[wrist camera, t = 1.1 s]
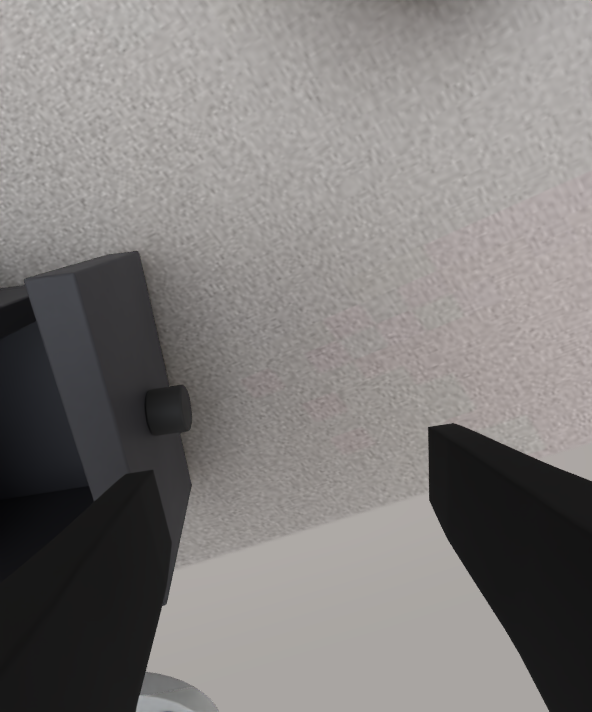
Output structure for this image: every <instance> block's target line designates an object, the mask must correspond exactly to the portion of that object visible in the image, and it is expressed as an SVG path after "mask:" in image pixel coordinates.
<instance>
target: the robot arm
mask: <svg viewBox="0 0 592 712" xmlns="http://www.w3.org/2000/svg"><path fill="white" fill-rule="evenodd" d="M428 443H429V500H430V503H431V505H432V507H433V509H434V511H435V514H436V516H437V518H438V520H439V522H440V524H441V527H442V529H443V531H444V533H445V535H446V537H447V539H448V541H449V542H450V544H451V545H452V547H453V549H454V550H455V552H456V553H457V555H458V557H459V558H460V560H461V561H462V563H463V565H464V566H465V568H466V569H467V571H468V572H469V574H470V575H471V577H472V579H473V580H474V582H475V583H476V585H477V587H478V588H479V590H480V591H481V593H482V594H483V596H484V597H485V599H486V600H487V602H488V604H489V605H490V607H491V608H492V610H493V612H494V613H495V615H496V616H497V618H498V619H499V621H500V622H501V624H502V625H503V627H504V628H505V630H506V632H507V634H508V635H509V637H510V639H511V640H512V642H513V644H514V645H515V647H516V649H517V651H518V652H519V654H520V656H521V658H522V660H523V662H524V664H525V665H526V667H527V669H528V671H529V673H530V675H531V677H532V679H533V681H534V683H535V684H536V687H537V689H538V690H539V692H540V694H541V696H542V698H543V700H544V702H545V704H546V706H547V708H548V710H549V712H592V481H589V480H587V479H584V478H582V477H579V476H577V475H574V474H572V473H569V472H566V471H564V470H561V469H559V468H556V467H554V466H552V465H549V464H547V463H544V462H542V461H540V460H537V459H535V458H533V457H530V456H528V455H526V454H524V453H521V452H519V451H517V450H515V449H512V448H510V447H508V446H506V445H504V444H501V443H499V442H497V441H495V440H493V439H490V438H488V437H486V436H484V435H482V434H479V433H477V432H475V431H472V430H470V429H468V428H465V427H463V426H460V425H457V424H454V423H452V424H445V425H439V426H432V427H428ZM171 548H172V541H171V537H170V533H169V529H168V525H167V521H166V517H165V513H164V509H163V506H162V502H161V498H160V494H159V490H158V486H157V482H156V478H155V474H154V471H153V470H147V471H141V472H134V473H128V474H125V475H124V476H123V477H121V478H120V479H119V480H118V481H116V482H115V483H114V484H113V485H112V486H111V487H110V488H109V489H107V490H106V491H105V492H104V493H103V494H102V495H101V496H100V497H99V498H98V499H97V500H96V501H94V502H93V503H92V504H91V505H90V506H89V507H88V508H87V509H86V510H85V511H84V512H82V513H81V514H80V515H79V516H78V517H77V518H76V519H75V520H74V521H73V522H72V523H70V524H69V525H68V526H67V527H66V528H65V529H64V530H63V531H62V532H61V533H59V534H58V535H57V536H56V537H55V538H54V539H52V540H51V541H50V542H49V543H48V544H47V545H45V546H44V547H43V548H42V549H41V550H39V551H38V552H37V553H36V554H35V555H34V556H32V557H31V558H30V559H29V560H28V561H26V562H25V563H24V564H23V565H22V566H21V567H19V568H18V569H17V570H16V571H15V572H13V573H12V574H11V575H10V576H8V577H7V578H6V579H5V580H3V581H2V582H1V583H0V712H136V708H137V704H138V699H139V695H140V691H141V687H142V683H143V680H144V676H145V672H146V667H147V664H148V660H149V656H150V652H151V648H152V644H153V640H154V636H155V632H156V628H157V624H158V620H159V616H160V612H161V608H162V604H163V600H164V596H165V592H166V588H167V581H168V573H169V566H170V557H171ZM166 712H172V711H166Z"/></svg>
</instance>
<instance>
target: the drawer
mask: <svg viewBox="0 0 592 712" xmlns="http://www.w3.org/2000/svg"><path fill="white" fill-rule="evenodd" d="M24 283H25V285H24V286H16V287H8V288H0V583H1V582H2V581H3V580H5V579H6V578H7V577H8V576H10V575H11V574H12V573H13V572H15V571H16V570H17V569H18V568H19V567H21V566H22V565H23V564H24V563H25V562H26V561H28V560H29V559H30V558H31V557H32V556H34V555H35V554H36V553H37V552H38V551H39V550H41V549H42V548H43V547H44V546H45V545H47V544H48V543H49V542H50V541H51V540H52V539H54V538H55V537H56V536H57V535H58V534H59V533H61V532H62V531H63V530H64V529H65V528H66V527H67V526H68V525H69V524H70V523H72V522H73V521H74V520H75V519H76V518H77V517H78V516H79V515H80V514H81V513H82V512H84V511H85V510H86V509H87V508H88V507H89V506H90V505H91V504H92V503H93V502H94V501H96V500H97V499H98V498H99V497H100V496H101V495H102V494H103V493H104V492H105V491H106V490H107V489H109V488H110V487H111V486H112V485H113V484H114V483H115V482H116V481H118V480H119V479H120V478H121V477H123V476H124V475H125V474H128V473H134V472H141V471H147V470H153V471H154V474H155V478H156V482H157V486H158V490H159V494H160V498H161V502H162V506H163V509H164V513H165V517H166V521H167V525H168V529H169V533H170V537H171V541H172V548H171V557H170V566H169V573H168V581H167V588H166V592H165V596H164V600H163V604H162V606H163V605H166V604H167V600H168V595H169V590H170V586H171V581H172V576H173V571H174V567H175V562H176V557H177V553H178V548H179V543H180V538H181V534H182V529H183V524H184V520H185V515H186V510H187V505H188V501H189V496H190V491H191V486H192V484H191V480H190V475H189V471H188V466H187V462H186V458H185V453H184V449H183V444H182V440H181V436H180V432H186V431H189V430H190V428H191V424H192V411H191V403H190V398H189V394H188V391H187V389H186V387H185V386H184V385H178V386H171V387H169V383H168V378H167V374H166V369H165V365H164V360H163V356H162V352H161V347H160V343H159V338H158V334H157V330H156V325H155V321H154V316H153V312H152V307H151V303H150V299H149V294H148V290H147V285H146V281H145V277H144V272H143V268H142V263H141V259H140V254H139V252H138V251H133V252H125V253H117V254H109V255H105V256H101V257H98V258H94V259H91V260H87V261H84V262H81V263H77V264H74V265H70V266H67V267H63V268H60V269H56V270H53V271H49V272H46V273H42V274H39V275H35V276H32V277H28V278H26V279H24Z"/></svg>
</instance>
